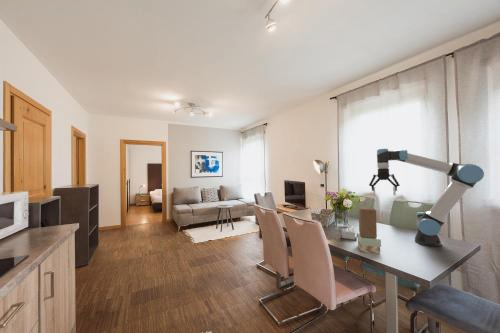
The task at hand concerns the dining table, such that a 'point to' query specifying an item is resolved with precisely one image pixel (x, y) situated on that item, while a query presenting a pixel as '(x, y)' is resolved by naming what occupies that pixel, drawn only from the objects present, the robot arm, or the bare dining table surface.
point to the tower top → (369, 241)
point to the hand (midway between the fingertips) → (384, 195)
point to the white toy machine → (349, 233)
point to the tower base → (369, 249)
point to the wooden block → (367, 222)
